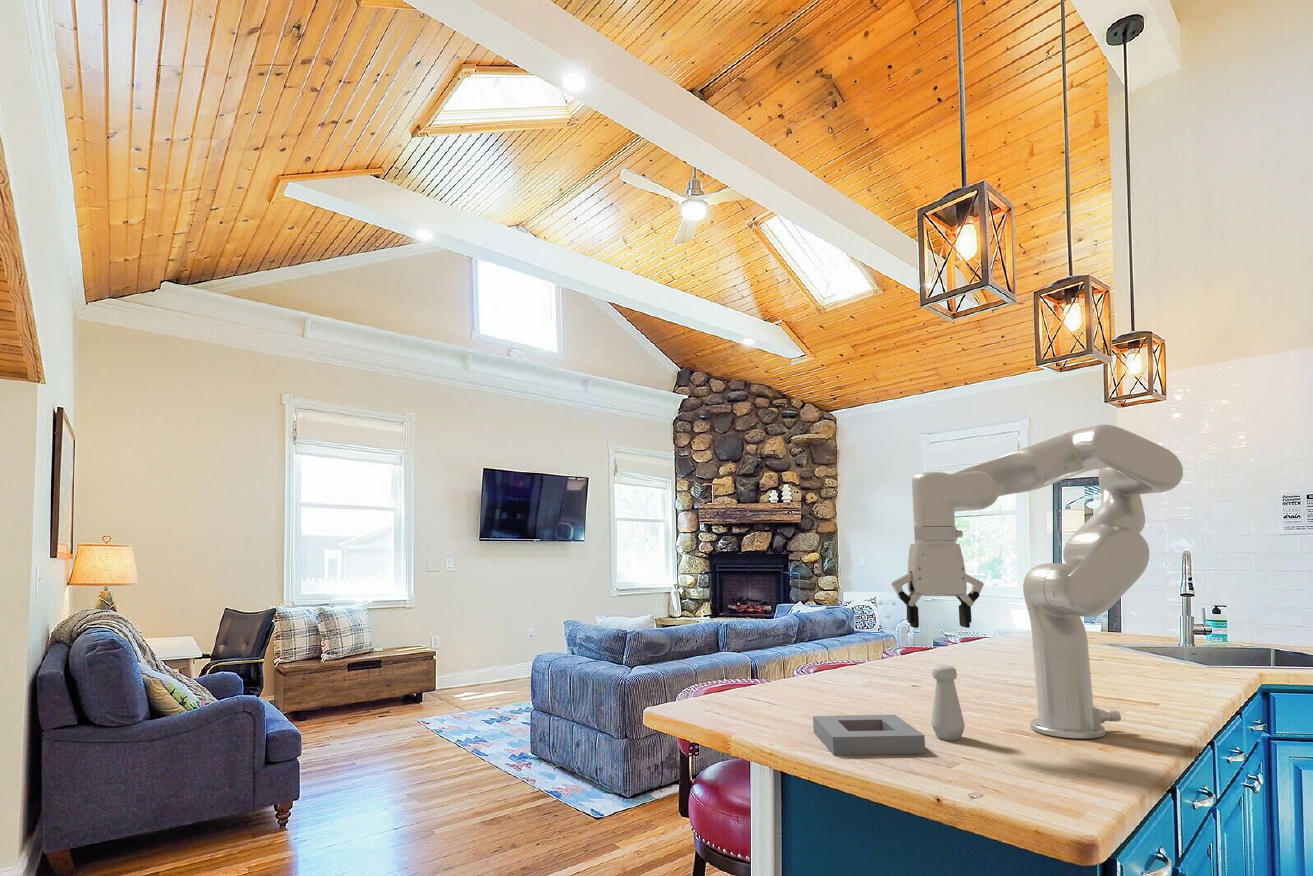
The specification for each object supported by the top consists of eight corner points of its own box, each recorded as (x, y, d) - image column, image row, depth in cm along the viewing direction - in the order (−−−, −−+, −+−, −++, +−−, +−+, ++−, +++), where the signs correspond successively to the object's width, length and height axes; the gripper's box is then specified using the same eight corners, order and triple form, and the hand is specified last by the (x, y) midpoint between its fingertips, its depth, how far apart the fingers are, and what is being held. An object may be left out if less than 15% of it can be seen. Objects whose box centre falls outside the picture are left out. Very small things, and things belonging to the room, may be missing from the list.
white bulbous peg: (968, 742, 138) (963, 668, 139) (935, 741, 139) (930, 668, 140) (961, 734, 143) (957, 663, 145) (930, 733, 144) (925, 663, 146)
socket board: (895, 730, 147) (894, 714, 147) (925, 753, 131) (924, 735, 131) (813, 732, 147) (812, 716, 147) (833, 755, 131) (832, 737, 131)
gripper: (971, 536, 150) (976, 625, 147) (884, 536, 150) (888, 625, 147) (988, 536, 142) (993, 629, 140) (896, 536, 142) (900, 629, 140)
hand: (939, 627), depth 144 cm, fingers open, 9 cm apart
